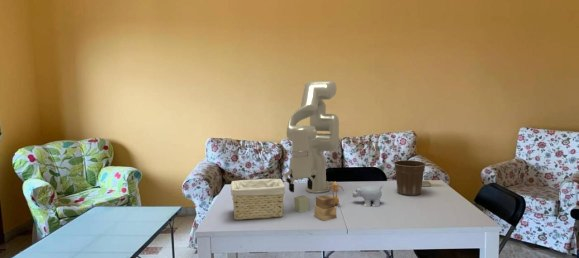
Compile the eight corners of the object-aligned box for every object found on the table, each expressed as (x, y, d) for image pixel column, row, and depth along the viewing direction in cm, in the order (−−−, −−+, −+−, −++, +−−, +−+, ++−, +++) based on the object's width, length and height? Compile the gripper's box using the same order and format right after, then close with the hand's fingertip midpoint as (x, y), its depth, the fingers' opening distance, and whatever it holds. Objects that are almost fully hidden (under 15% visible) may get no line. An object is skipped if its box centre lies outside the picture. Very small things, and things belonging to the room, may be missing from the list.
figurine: (342, 203, 192) (342, 179, 190) (344, 206, 186) (344, 182, 184) (326, 203, 192) (325, 179, 190) (327, 207, 186) (326, 182, 184)
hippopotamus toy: (352, 199, 197) (352, 181, 196) (382, 200, 195) (382, 181, 194) (352, 206, 187) (352, 187, 186) (384, 206, 185) (384, 187, 183)
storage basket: (281, 207, 188) (281, 177, 187) (286, 218, 172) (285, 186, 171) (232, 210, 185) (230, 180, 183) (232, 222, 169) (230, 189, 167)
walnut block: (327, 203, 176) (327, 194, 176) (334, 206, 171) (334, 198, 171) (316, 205, 174) (315, 196, 173) (323, 209, 168) (323, 200, 168)
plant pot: (412, 187, 216) (413, 158, 215) (432, 195, 201) (432, 164, 199) (387, 190, 211) (387, 161, 209) (405, 198, 196) (405, 167, 194)
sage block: (303, 207, 187) (303, 195, 186) (309, 210, 182) (308, 197, 182) (294, 209, 184) (294, 197, 184) (299, 212, 180) (299, 199, 179)
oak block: (327, 213, 178) (327, 202, 177) (336, 217, 172) (336, 206, 171) (314, 216, 174) (314, 205, 174) (323, 220, 168) (323, 209, 168)
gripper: (312, 151, 187) (312, 186, 189) (280, 154, 179) (280, 191, 181) (320, 153, 181) (320, 189, 182) (287, 156, 173) (288, 194, 174)
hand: (300, 190), depth 182 cm, fingers open, 9 cm apart
